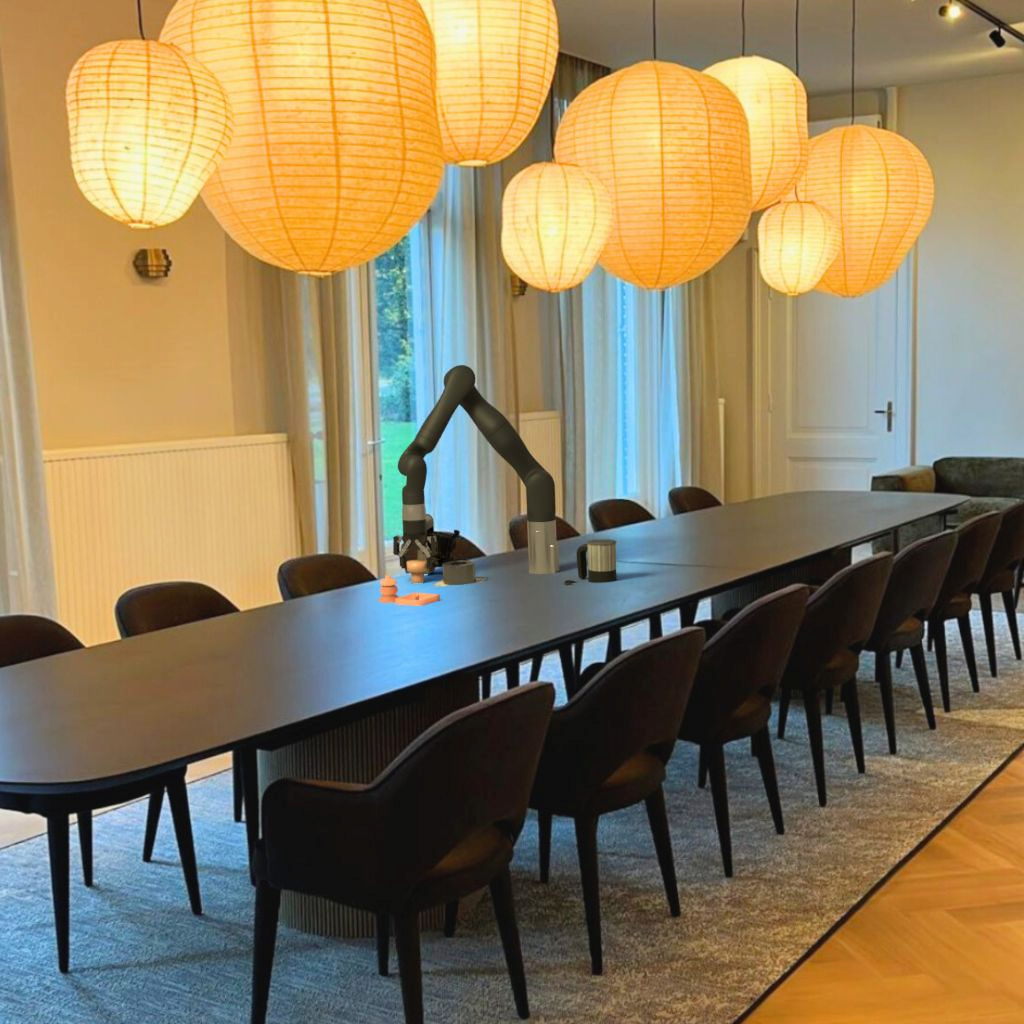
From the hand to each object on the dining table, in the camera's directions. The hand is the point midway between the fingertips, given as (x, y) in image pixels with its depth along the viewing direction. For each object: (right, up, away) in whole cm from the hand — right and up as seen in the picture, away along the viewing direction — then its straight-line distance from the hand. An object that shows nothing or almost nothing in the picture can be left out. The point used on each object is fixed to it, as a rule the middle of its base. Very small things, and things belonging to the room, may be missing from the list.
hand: (416, 568), depth 417 cm
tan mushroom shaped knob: (+1, -6, +1) cm, 6 cm away
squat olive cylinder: (+14, -4, -4) cm, 15 cm away
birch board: (+14, -6, -3) cm, 15 cm away
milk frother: (+54, -6, -18) cm, 58 cm away
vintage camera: (+8, -3, +19) cm, 21 cm away
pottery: (-1, -11, -34) cm, 36 cm away
